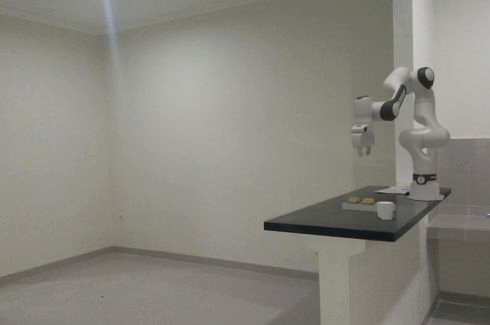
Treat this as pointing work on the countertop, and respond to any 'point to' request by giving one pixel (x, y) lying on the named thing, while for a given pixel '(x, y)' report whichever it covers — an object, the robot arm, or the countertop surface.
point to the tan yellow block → (368, 201)
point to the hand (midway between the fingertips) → (364, 155)
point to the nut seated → (353, 200)
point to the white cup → (385, 210)
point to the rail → (362, 206)
